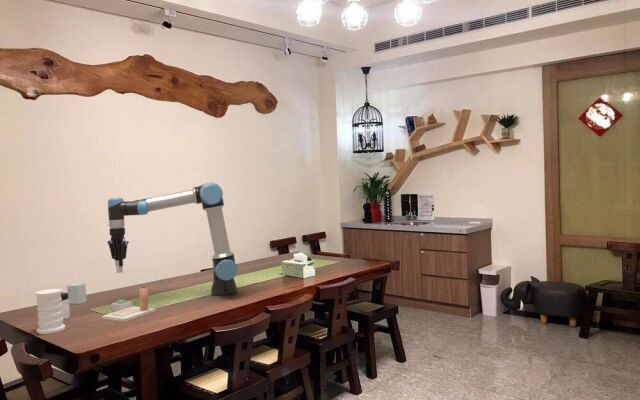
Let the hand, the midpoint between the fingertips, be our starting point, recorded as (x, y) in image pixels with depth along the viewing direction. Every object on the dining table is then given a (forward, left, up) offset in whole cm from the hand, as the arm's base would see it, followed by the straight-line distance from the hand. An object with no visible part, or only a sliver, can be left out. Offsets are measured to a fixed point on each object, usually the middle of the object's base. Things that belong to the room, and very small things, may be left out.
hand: (119, 272), depth 264 cm
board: (-13, +7, -19) cm, 24 cm away
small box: (+38, -3, -20) cm, 43 cm away
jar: (+17, +23, -20) cm, 35 cm away
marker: (-17, +1, -18) cm, 25 cm away
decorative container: (+2, +39, -20) cm, 44 cm away
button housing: (0, 0, -19) cm, 19 cm away
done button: (0, 0, -19) cm, 19 cm away
